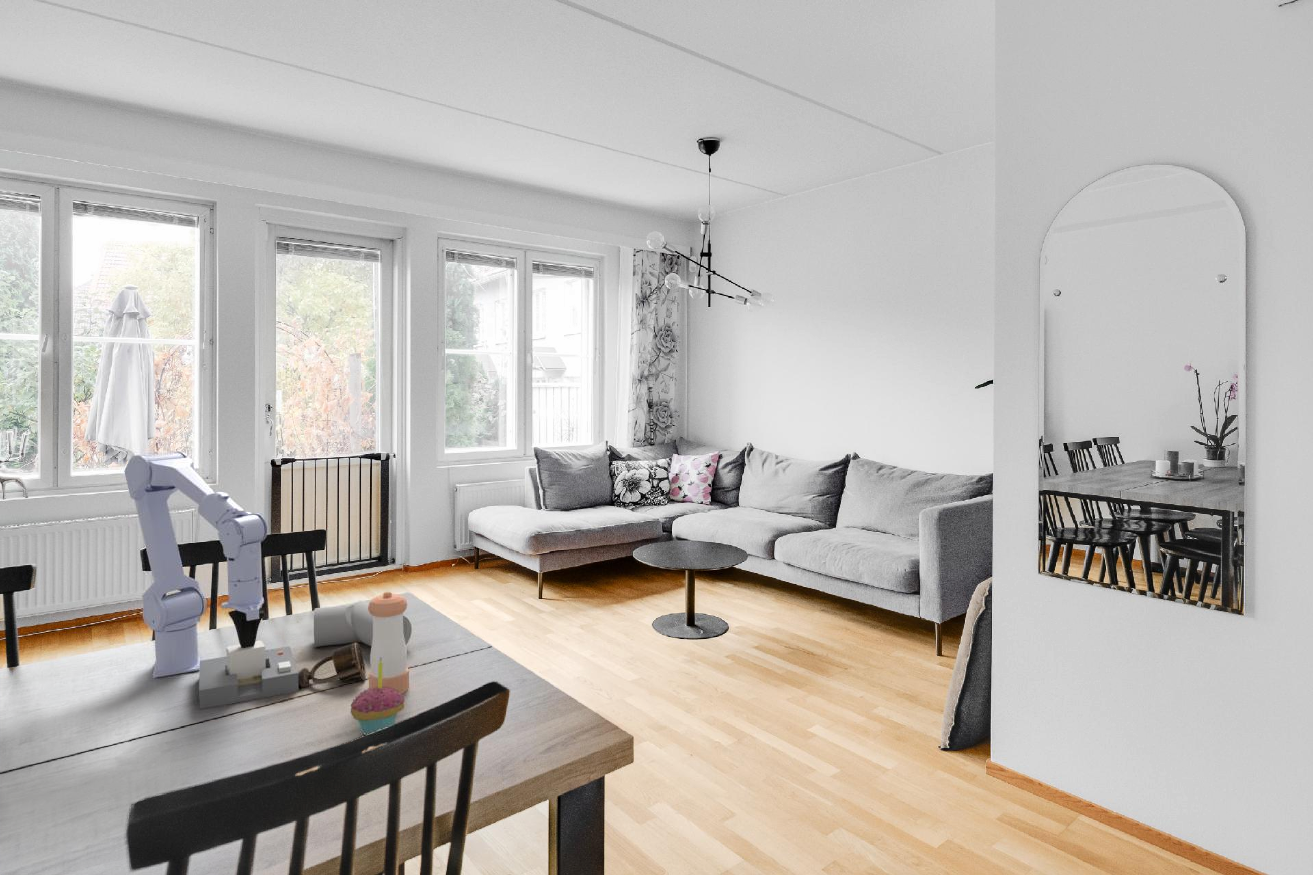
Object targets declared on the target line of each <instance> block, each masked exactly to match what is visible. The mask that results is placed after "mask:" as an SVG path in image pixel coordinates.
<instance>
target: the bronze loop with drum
mask: <svg viewBox="0 0 1313 875" xmlns="http://www.w3.org/2000/svg"><path fill="white" fill-rule="evenodd" d="M330 661H333V668H334V670H335V672H336V674H335V675H331V676H329V677H324V678H318V677H317V678H316V677H315V674H316V671H317V670H318V669H319V668H320V667H322V665H325V664H326V663H328V662H330ZM366 675H367V674H366V662H365V660H364V657H363V649H362V647H361V646H360V644H359V643H358V642H357V643H349V644H348V645H345V646H342V647H338V648H337V649H334V650H333V651H332V654H331V655H329V656H327V657H324V658H323V659H321V660H319V661H318V662H317V663H316V664H314V666H313V667H312V668H311V670H309V668H307V667H304V668H302V669H300V671H299V672H298V686H299V687H301V688H305V687H307V686H308V685H309V682H310V680H311V681H312V682H313V683H316V684H327V683H331V682H334V681H338V680H339V681H341V682H345V681H349V680H351V679H353V678H356V677H358V676H360V678H361V680H362V681H364V682H365V681H366Z"/></svg>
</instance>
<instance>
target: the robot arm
mask: <svg viewBox="0 0 1313 875" xmlns="http://www.w3.org/2000/svg"><path fill="white" fill-rule="evenodd" d="M123 471H124V475H125V479H126V484H127V488H128V491H129V496H130V498H131V499H133V500H134V503H135V508H136V512H137V517H138V520H139V525H140V528H141V529H140V530H141V533H142V536H143V541H144V545H145V549H146V554H147V558H148V563H149V566H150V567H149V568H150V572H151V576H152V579H153V582H152V584H151V585H150V586H149V587H148V588H147V590H145V591H144V592H143V594H142V595H141V596H142V604H143V605H142V620H143V621H144V623H145V625H147V627H149V629H150V630H153V631H154V648H155V649H154V650H155V660H154V668H153V673H152V678H154V679H155V678H161V677H167V676H172V675H179V674H184V673H190V672H196V671H200V661H202V659H201V658H202V653H199V649H198V647H199V646H198V645H199V644H198V641H199V640H198V623H200V622H201V617H202V616H203V615H204V614H205V612H206V610H207V599H206V596H205V594H204V593H203V591H202V589H201V587H200V585H199V581H198V580H197V579H195V578H192V577H190V576H188V575H187V574H185V572H184V568H183V564H182V563H183V562H182V559H181V555H180V550H179V546H178V542H177V538H176V535H175V534H176V533H175V531H174V530H175V529H174V526H173V521H172V517H171V514H170V510H169V505H168V500H169V498H170V497H171V495H173V494H175V493H176V492H177V491H178V490H179V491H180V492H181V493H182V494H184V495H185V496H186V497H187V498H189V499H190V500H192V501H193V502H194V503H196V504H198V509H197V511H198V514H199V515H200V516H201V517H202V518H203V519H204V520H206V522H208V523H209V524H210V525H211V526H212V527H213V528H214V529H215V530H217V534H218V535H217V536H218V539H219V542H220V544H221V545H222V549H223V550H222V551H223V555H224V557H225V558H226V564H227V567H226V569H227V570H226V571H227V592H228V593H227V594H228V596H227V597H228V601H225V602H222V603H221V608H222V609H230V611H228V612H227V614H228V616H229V617H230V619H231V620H232V622H233V624H234V627H235V631H236V634H237V639H238V643H239V644H240V646H241V647H242V648H247V647H253V646H254V645H255V641H257V635H258V630H259V627H260V623H261V621H262V620H263V618H264V616H265V611H264V610H263V608H262V606H263V604H264V603H265V599H264V597H263V574H262V569H263V568H262V567H263V566H262V547H261V546H262V545H261V543H262V542H263V541H265V539H266V538H267V536H268V525H267V522H266V520H265V518H264V517H263V516H262V514H260V513H258V512H253V513H252V512H250V511H245V509H243V508H242V507H241V506H240V505H239V504H238V503H236V502H235V501H234V500H233V499H232V498H231V497H230V494H228V493H227V492H223V491H216V492H215V491H214V490H213V489H212V488H211V487H210V486H209V485H208V484H207V482H205V481H204V480H203V478H202V477H201V476H199V474H198V473H197V472H196V471H195V466H194V462H193V459H192V458H190V457H189V456H188V455H187V454H186V453H185V452H184V451H173V452H167V453H156V454H155V453H154V454H145V455H141V454H136V455H134V456H132V457H130V459H129V460H128V462H127V464H126V467H125V469H124V470H123ZM175 591H178V592H175ZM171 592H175V593H171ZM167 593H170V594H167ZM165 594H166V595H165Z"/></svg>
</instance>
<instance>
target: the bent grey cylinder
mask: <svg viewBox="0 0 1313 875" xmlns="http://www.w3.org/2000/svg"><path fill="white" fill-rule="evenodd" d="M369 603H370V602H367V601H365V600H358V601H356V602H355V603H354V604H347V605H337V606H336V605H335V606H327V607H326V606H325V607H316V608H314V611H313V641H314V644H313V645H314V647H315V648H318V647H319V648H320V647H328V646H330V647H331V646H337V645H346V644H348V645H349V644H353V643H357V644H358V643H364V644H365V645H366V646H369V647H370V648H371V647H372V640H373V615H371V614H370V613H369V610H368V606H369ZM412 630H413V628H412V623H411V621H410V620H409V618H408V617H406V615H403V634H404V639H405V645H407V644H408V643H409V641H410V639H411V637H412V636H411V635H412Z"/></svg>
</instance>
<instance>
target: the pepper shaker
mask: <svg viewBox="0 0 1313 875" xmlns="http://www.w3.org/2000/svg"><path fill="white" fill-rule="evenodd" d="M407 602H408V601H407V600H406V598H405V597H404V596H403V595H400V594H397V593H393V592H392V591H390V590H389V591H388V590H387V591H385V592H383V594H380V595H378V596H375V597H374V598H372V599H371V600H370V601H369V602H368V603H369V606H368V610H369V613H370V614H371V615H373V640H372V647H371V646H370V655H369V660H370V672H369V673H368V689H372V688H375V687H378V666H379V662H380V657H382V658H381V662H383V668H382V686H384V687H390V688H394V689H397V691H399V693H402V694H404V693H406V692H407V691H408V690H409V689H410V671H409V670H410V669H409V668H408V667H407V666H408V664H407V661H408V658H407V657H408V651H407V646H406V645H407V644H406V645H405V639H404V634H403V616H404V612H405V611H406V610H407V607H408V603H407Z"/></svg>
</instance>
